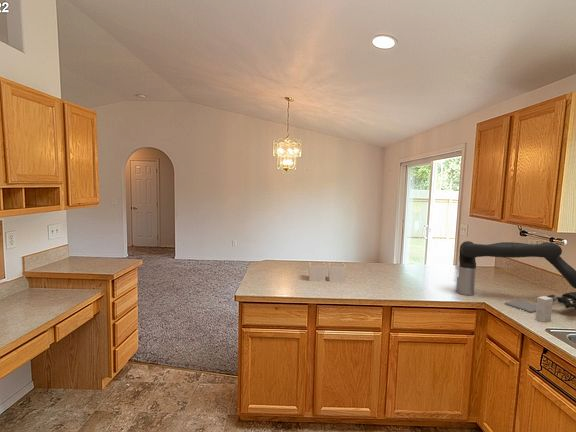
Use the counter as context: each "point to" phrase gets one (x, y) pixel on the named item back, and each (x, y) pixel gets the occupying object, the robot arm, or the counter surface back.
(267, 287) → the counter surface
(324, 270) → the storage container
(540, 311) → the skincare box
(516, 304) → the slate tile
